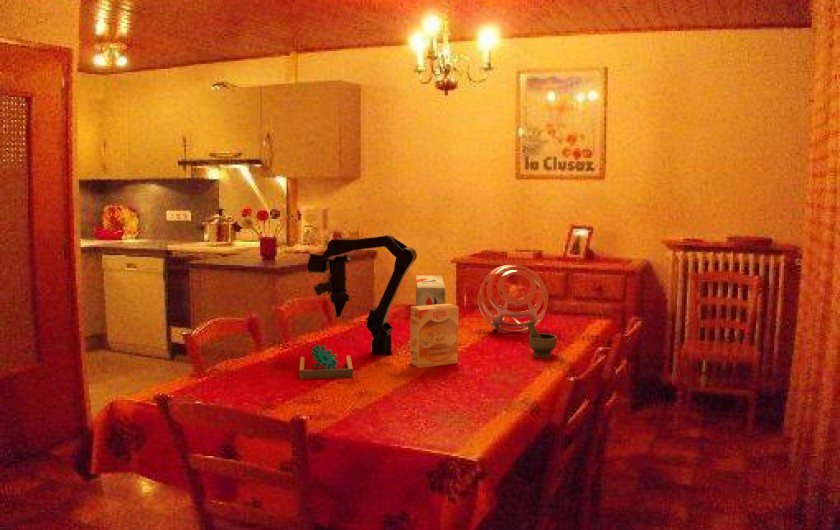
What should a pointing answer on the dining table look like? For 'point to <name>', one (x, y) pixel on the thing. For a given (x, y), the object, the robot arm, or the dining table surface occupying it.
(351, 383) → the dining table surface
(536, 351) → the mortar and pestle
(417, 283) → the soda pack
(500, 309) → the spiral basket
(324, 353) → the gear
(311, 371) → the mount cradle
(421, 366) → the coffeecake box
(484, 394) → the dining table surface
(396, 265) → the robot arm
